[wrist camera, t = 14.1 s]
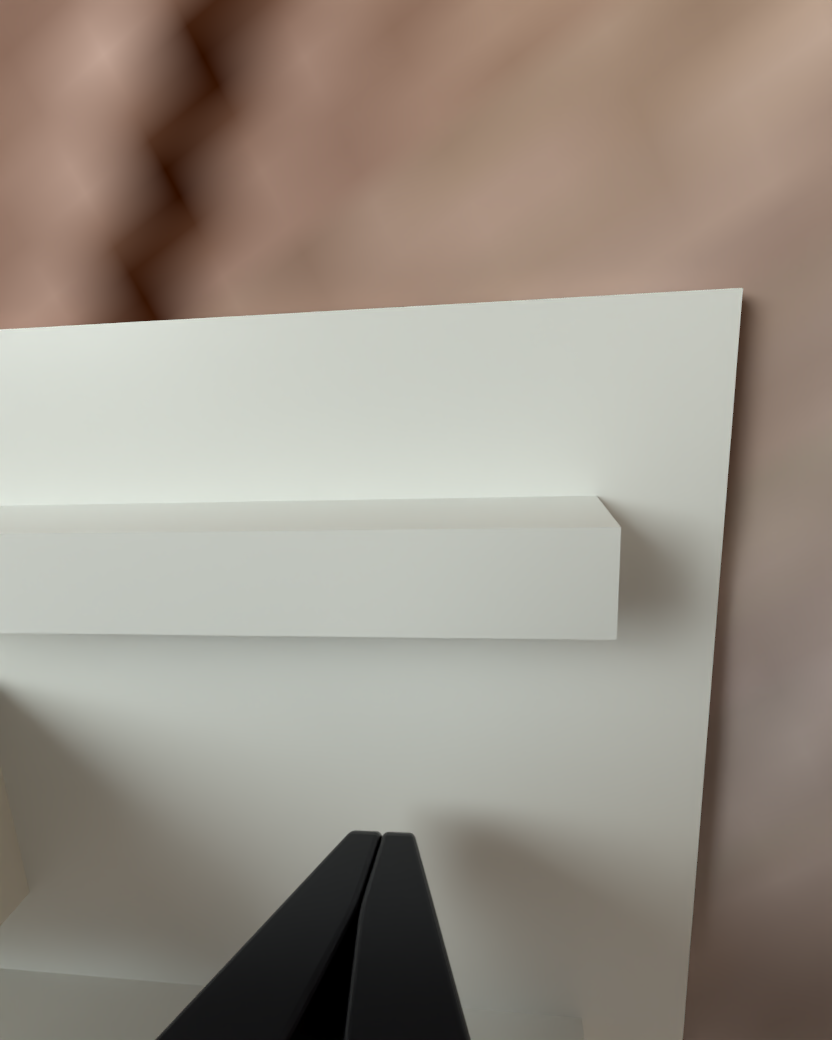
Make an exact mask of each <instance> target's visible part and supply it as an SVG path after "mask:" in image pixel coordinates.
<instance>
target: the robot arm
mask: <svg viewBox="0 0 832 1040" xmlns="http://www.w3.org/2000/svg"><path fill="white" fill-rule="evenodd" d="M155 1040H471V1038H470V1035H469V1031H468V1027H467V1024H466V1020H465V1016H464V1013H463V1009H462V1005H461V1002H460V998H459V995H458V991H457V987H456V984H455V980H454V976H453V973H452V969H451V965H450V962H449V958H448V954H447V951H446V947H445V943H444V940H443V936H442V932H441V929H440V925H439V921H438V918H437V914H436V910H435V907H434V903H433V899H432V896H431V892H430V889H429V885H428V881H427V878H426V874H425V870H424V867H423V863H422V859H421V856H420V852H419V848H418V845H417V841H416V838H415V836H414V834H412V833H409V832H386V833H384V834H383V836H382V834H381V833H380V832H378V831H362V830H354V831H351V832H350V833H348V834H347V835H346V836H345V837H344V838H343V839H342V840H341V842H340V843H339V844H338V845H337V846H336V847H335V848H334V849H333V850H332V851H331V852H330V853H329V854H328V855H327V856H326V858H325V859H324V860H323V861H322V862H321V863H320V864H319V865H318V866H317V867H316V868H315V869H314V870H313V871H312V873H311V874H310V875H309V876H308V877H307V878H306V879H305V880H304V881H303V882H302V883H301V884H300V885H299V886H298V887H297V889H296V890H295V891H294V892H293V893H292V894H291V895H290V896H289V897H288V898H287V899H286V900H285V901H284V902H283V904H282V905H281V906H280V907H279V908H278V909H277V910H276V911H275V912H274V913H273V914H272V915H271V916H270V917H269V918H268V920H267V921H266V922H265V923H264V924H263V925H262V926H261V927H260V928H259V929H258V930H257V931H256V932H255V933H254V935H253V936H252V937H251V938H250V939H249V940H248V941H247V942H246V943H245V944H244V945H243V946H242V947H241V948H240V949H239V951H238V952H237V953H236V954H235V955H234V956H233V957H232V958H231V959H230V960H229V961H228V962H227V963H226V964H225V966H224V967H223V968H222V969H221V970H220V971H219V972H218V973H217V974H216V975H215V976H214V977H213V978H212V979H211V980H210V982H209V983H208V984H207V985H206V986H205V987H204V988H203V989H202V990H201V991H200V992H199V993H198V994H197V995H196V997H195V998H194V999H193V1000H192V1001H191V1002H190V1003H189V1004H188V1005H187V1006H186V1007H185V1008H184V1009H183V1010H182V1011H181V1013H180V1014H179V1015H178V1016H177V1017H176V1018H175V1019H174V1020H173V1021H172V1022H171V1023H170V1024H169V1025H168V1026H167V1028H166V1029H165V1030H164V1031H163V1032H162V1033H161V1034H160V1035H159V1036H158V1037H157V1038H156V1039H155Z"/></svg>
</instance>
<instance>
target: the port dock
mask: <svg viewBox="0 0 832 1040" xmlns="http://www.w3.org/2000/svg"><path fill="white" fill-rule="evenodd" d="M742 293H743V288H732V289H714V290H696V291H678V292H661V293H643V294H625V295H607V296H589V297H572V298H554V299H536V300H518V301H500V302H483V303H465V304H447V305H429V306H411V307H394V308H376V309H358V310H340V311H322V312H305V313H287V314H269V315H251V316H233V317H216V318H198V319H180V320H162V321H144V322H127V323H109V324H91V325H73V326H55V327H38V328H20V329H2V330H0V766H1V770H2V775H3V779H4V783H5V788H6V792H7V796H8V801H9V805H10V809H11V814H12V818H13V822H14V827H15V831H16V835H17V840H18V844H19V848H20V853H21V857H22V861H23V866H24V870H25V875H26V879H27V883H28V888H29V892H30V893H29V894H28V895H27V896H26V897H25V898H24V900H23V901H22V902H21V903H20V904H19V905H18V906H17V908H16V909H15V910H14V911H13V912H12V913H11V914H10V916H9V917H8V918H7V919H6V920H5V921H4V923H3V924H2V925H1V926H0V1040H155V1039H156V1038H157V1037H158V1036H159V1035H160V1034H161V1033H162V1032H163V1031H164V1030H165V1029H166V1028H167V1026H168V1025H169V1024H170V1023H171V1022H172V1021H173V1020H174V1019H175V1018H176V1017H177V1016H178V1015H179V1014H180V1013H181V1011H182V1010H183V1009H184V1008H185V1007H186V1006H187V1005H188V1004H189V1003H190V1002H191V1001H192V1000H193V999H194V998H195V997H196V995H197V994H198V993H199V992H200V991H201V990H202V989H203V988H204V987H205V986H206V985H207V984H208V983H209V982H210V980H211V979H212V978H213V977H214V976H215V975H216V974H217V973H218V972H219V971H220V970H221V969H222V968H223V967H224V966H225V964H226V963H227V962H228V961H229V960H230V959H231V958H232V957H233V956H234V955H235V954H236V953H237V952H238V951H239V949H240V948H241V947H242V946H243V945H244V944H245V943H246V942H247V941H248V940H249V939H250V938H251V937H252V936H253V935H254V933H255V932H256V931H257V930H258V929H259V928H260V927H261V926H262V925H263V924H264V923H265V922H266V921H267V920H268V918H269V917H270V916H271V915H272V914H273V913H274V912H275V911H276V910H277V909H278V908H279V907H280V906H281V905H282V904H283V902H284V901H285V900H286V899H287V898H288V897H289V896H290V895H291V894H292V893H293V892H294V891H295V890H296V889H297V887H298V886H299V885H300V884H301V883H302V882H303V881H304V880H305V879H306V878H307V877H308V876H309V875H310V874H311V873H312V871H313V870H314V869H315V868H316V867H317V866H318V865H319V864H320V863H321V862H322V861H323V860H324V859H325V858H326V856H327V855H328V854H329V853H330V852H331V851H332V850H333V849H334V848H335V847H336V846H337V845H338V844H339V843H340V842H341V840H342V839H343V838H344V837H345V836H346V835H347V834H348V833H350V832H351V831H354V830H362V831H378V832H380V833H381V834H382V836H383V834H384V833H386V832H409V833H412V834H414V836H415V838H416V841H417V845H418V848H419V852H420V856H421V859H422V863H423V867H424V870H425V874H426V878H427V881H428V885H429V889H430V892H431V896H432V899H433V903H434V907H435V910H436V914H437V918H438V921H439V925H440V929H441V932H442V936H443V940H444V943H445V947H446V951H447V954H448V958H449V962H450V965H451V969H452V973H453V976H454V980H455V984H456V987H457V991H458V995H459V998H460V1002H461V1005H462V1009H463V1013H464V1016H465V1020H466V1024H467V1027H468V1031H469V1035H470V1038H471V1040H683V1031H684V1019H685V1006H686V994H687V981H688V969H689V956H690V944H691V931H692V919H693V906H694V894H695V881H696V869H697V856H698V844H699V831H700V819H701V806H702V794H703V781H704V769H705V756H706V744H707V731H708V719H709V706H710V694H711V681H712V669H713V656H714V643H715V631H716V618H717V606H718V593H719V581H720V568H721V556H722V543H723V531H724V518H725V506H726V493H727V481H728V468H729V456H730V443H731V431H732V418H733V406H734V393H735V381H736V368H737V356H738V343H739V331H740V318H741V306H742Z"/></svg>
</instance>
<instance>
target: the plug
mask: <svg viewBox="0 0 832 1040" xmlns="http://www.w3.org/2000/svg"><path fill="white" fill-rule="evenodd" d="M29 893H30V892H29V888H28V883H27V879H26V875H25V870H24V866H23V861H22V857H21V853H20V848H19V844H18V840H17V835H16V831H15V827H14V822H13V818H12V814H11V809H10V805H9V801H8V796H7V792H6V788H5V783H4V779H3V775H2V770H1V766H0V926H1V925H2V924H3V923H4V921H5V920H6V919H7V918H8V917H9V916H10V914H11V913H12V912H13V911H14V910H15V909H16V908H17V906H18V905H19V904H20V903H21V902H22V901H23V900H24V898H25V897H26V896H27V895H28V894H29Z"/></svg>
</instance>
